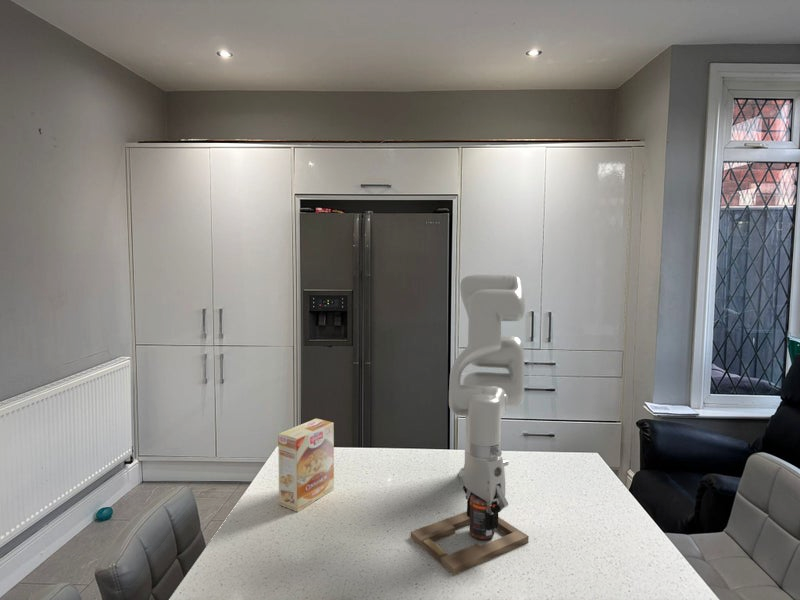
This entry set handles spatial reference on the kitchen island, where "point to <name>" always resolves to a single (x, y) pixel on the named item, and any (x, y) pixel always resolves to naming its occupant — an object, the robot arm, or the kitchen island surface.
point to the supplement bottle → (479, 518)
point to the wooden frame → (470, 554)
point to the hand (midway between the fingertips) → (482, 520)
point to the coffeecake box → (306, 463)
